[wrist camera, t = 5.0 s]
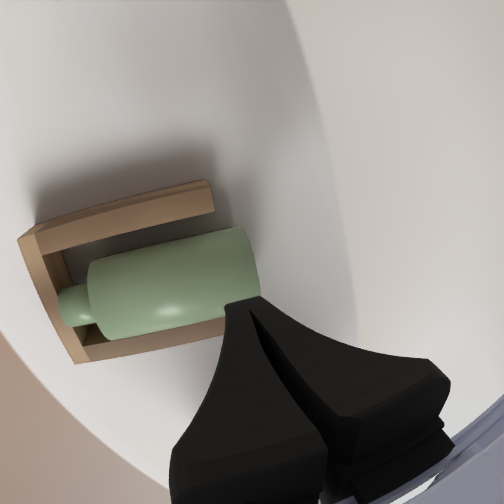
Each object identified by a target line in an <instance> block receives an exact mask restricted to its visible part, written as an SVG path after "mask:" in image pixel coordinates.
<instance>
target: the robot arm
mask: <svg viewBox="0 0 504 504" xmlns="http://www.w3.org/2000/svg"><path fill="white" fill-rule="evenodd" d="M224 310H225V330H224V338H223V344H222V348H221V353H220V357H219V361H218V364H217V368H216V371H215V374H214V377H213V379H212V382H211V384H210V387H209V389H208V391H207V394H206V396H205V398H204V400H203V402H202V404H201V406H200V407H199V409H198V411H197V413H196V415H195V416H194V418H193V420H192V422H191V423H190V425H189V426H188V428H187V429H186V431H185V432H184V434H183V435H182V436H181V438H180V439H179V441H178V442H177V443H176V445H175V446H174V447H173V449H172V453H171V459H170V467H169V489H170V496H171V502H172V504H389V503H391V502H393V501H395V500H397V499H398V498H400V497H402V496H404V495H405V494H407V493H409V492H410V491H412V490H414V489H415V488H417V487H418V486H420V485H422V484H423V483H424V482H426V481H428V480H429V479H431V478H432V477H434V476H435V475H437V474H438V473H439V472H440V473H439V474H438V475H437V476H436V477H435V479H434V481H433V482H432V483H431V485H430V486H429V487H428V488H427V489H426V490H425V491H424V492H422V493H420V494H419V495H417V496H415V497H414V498H412V499H410V500H408V501H407V502H405V503H403V504H504V394H503V395H502V396H501V397H500V398H499V399H498V400H497V401H496V402H495V403H494V404H492V405H491V406H490V407H489V408H488V409H487V410H486V411H485V412H483V413H482V414H481V415H480V416H479V417H478V418H476V419H475V420H474V421H473V422H472V423H470V424H469V425H468V426H467V427H465V428H464V429H463V430H461V431H460V432H459V433H458V434H456V435H455V436H454V437H452V438H451V439H450V438H449V437H448V436H447V435H446V433H445V432H444V431H443V430H442V428H443V427H444V422H443V421H442V420H441V419H440V418H439V414H440V412H441V410H442V408H443V406H444V404H445V402H446V400H447V398H448V395H449V392H450V386H451V382H450V380H449V379H448V377H447V376H446V375H445V374H444V373H443V372H442V371H441V370H440V369H438V367H437V366H436V365H434V364H433V363H432V362H431V361H430V360H429V359H422V358H410V357H399V356H392V355H387V354H381V353H376V352H372V351H367V350H364V349H360V348H357V347H354V346H350V345H347V344H344V343H341V342H338V341H336V340H334V339H331V338H329V337H326V336H324V335H322V334H319V333H317V332H315V331H313V330H311V329H310V328H308V327H306V326H304V325H302V324H301V323H299V322H297V321H296V320H294V319H293V318H291V317H289V316H288V315H286V314H285V313H283V312H282V311H280V310H279V309H278V308H276V307H275V306H273V305H272V304H271V303H269V302H268V301H267V300H265V299H264V298H263V297H261V296H255V297H252V298H248V299H244V300H240V301H236V302H232V303H228V304H226V305H225V306H224ZM442 470H443V471H442ZM441 471H442V472H441Z"/></svg>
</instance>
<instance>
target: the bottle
mask: <svg viewBox="0 0 504 504" xmlns="http://www.w3.org/2000/svg"><path fill="white" fill-rule="evenodd" d="M255 296H261V292H260V284H259V278H258V273H257V268H256V264H255V260H254V256H253V253H252V250H251V246H250V243H249V241H248V238H247V236H246V233H245V231H244V230H243V228H242V227H241V226H238V227H234V228H229V229H224V230H220V231H215V232H211V233H206V234H201V235H197V236H192V237H188V238H184V239H179V240H175V241H170V242H166V243H162V244H157V245H153V246H149V247H145V248H140V249H136V250H132V251H128V252H124V253H119V254H115V255H111V256H107V257H103V258H99V259H95V260H92V261H91V263H90V265H89V268H88V274H87V283H84V284H79V285H75V286H71V287H67V288H62V289H61V290H60V291H59V294H58V307H59V312H60V315H61V317H62V320H63V321H64V323H65V324H66V325H67V326H68V327H76V326H82V325H87V324H92V323H97V325H98V327H99V329H100V330H101V332H102V333H103V335H104V336H105V337H106V338H107V339H108V340H111V341H113V340H118V339H123V338H128V337H134V336H139V335H144V334H148V333H153V332H158V331H163V330H168V329H172V328H177V327H181V326H186V325H190V324H195V323H199V322H203V321H208V320H212V319H216V318H220V317H224V316H225V310H224V306H225V305H226V304H228V303H232V302H236V301H240V300H244V299H248V298H252V297H255Z"/></svg>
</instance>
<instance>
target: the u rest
mask: <svg viewBox="0 0 504 504" xmlns="http://www.w3.org/2000/svg"><path fill="white" fill-rule="evenodd" d="M211 212H215V208H214V202H213V197H212V191H211V187H210V185H209V184H208V183H207V181H206V180H200V181H195V182H191V183H186V184H182V185H177V186H173V187H168V188H164V189H160V190H156V191H152V192H148V193H143V194H140V195H136V196H132V197H128V198H124V199H120V200H117V201H113V202H109V203H106V204H102V205H98V206H95V207H92V208H88V209H85V210H81V211H78V212H75V213H71V214H68V215H65V216H62V217H59V218H55V219H52V220H49V221H46V222H43V223H40V224H37V225H35V226H33V227H32V228H31V229H29V230H28V231H27V232H26V233H24V234H23V235H22V236H21V237H19V238H18V239H17V242H18V244H19V247H20V250H21V253H22V256H23V258H24V261H25V264H26V266H27V269H28V271H29V274H30V276H31V279H32V281H33V284H34V286H35V288H36V290H37V293H38V295H39V297H40V299H41V302H42V304H43V306H44V308H45V310H46V312H47V314H48V316H49V318H50V320H51V322H52V324H53V326H54V328H55V330H56V332H57V334H58V336H59V338H60V340H61V341H62V343H63V345H64V347H65V349H66V350H67V352H68V354H69V356H70V357H71V359H72V361H73V362H74V364H81V363H87V362H94V361H100V360H106V359H111V358H117V357H123V356H128V355H133V354H138V353H144V352H149V351H153V350H158V349H163V348H168V347H172V346H177V345H182V344H186V343H190V342H195V341H199V340H203V339H207V338H212V337H216V336H220V335H224V330H225V316H224V317H220V318H216V319H212V320H208V321H203V322H199V323H195V324H190V325H186V326H181V327H177V328H172V329H168V330H163V331H158V332H153V333H148V334H144V335H139V336H134V337H128V338H123V339H118V340H113V341H111V340H108V339H107V338H106V337H105V336H104V335H103V333H102V332H101V330H100V329H99V327H98V325H97V323H92V324H87V325H82V326H76V327H68V326H67V325H66V324H65V323H64V321H63V320H62V317H61V315H60V312H59V307H58V294H59V291H60V290H61V289H62V288H67V287H71V286H74V285H73V282H72V280H71V277H70V275H69V272H68V270H67V267H66V264H65V261H64V259H63V256H62V253H61V250H63V249H67V248H70V247H74V246H77V245H81V244H85V243H88V242H92V241H96V240H100V239H103V238H107V237H111V236H115V235H119V234H122V233H126V232H130V231H134V230H138V229H142V228H146V227H151V226H155V225H159V224H163V223H167V222H171V221H176V220H180V219H184V218H189V217H193V216H198V215H202V214H207V213H211Z"/></svg>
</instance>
